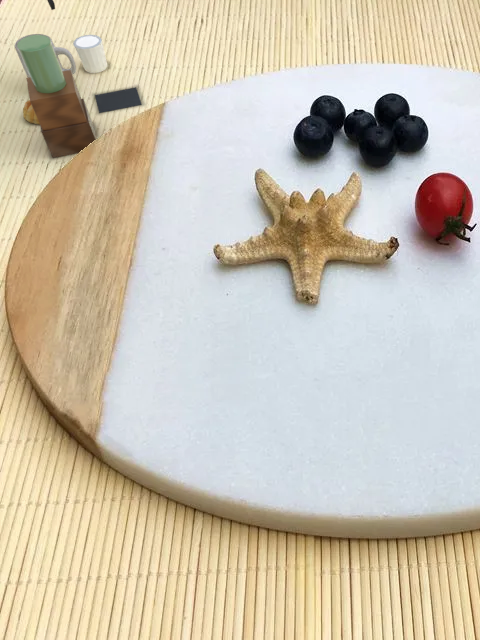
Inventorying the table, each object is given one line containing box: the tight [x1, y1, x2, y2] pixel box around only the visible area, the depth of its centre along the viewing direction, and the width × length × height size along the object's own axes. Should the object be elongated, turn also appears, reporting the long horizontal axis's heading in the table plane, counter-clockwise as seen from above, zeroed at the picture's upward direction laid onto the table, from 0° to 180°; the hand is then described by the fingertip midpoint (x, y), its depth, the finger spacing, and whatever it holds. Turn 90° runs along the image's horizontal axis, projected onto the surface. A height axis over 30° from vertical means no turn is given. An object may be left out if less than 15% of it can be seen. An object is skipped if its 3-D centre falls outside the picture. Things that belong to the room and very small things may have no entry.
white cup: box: [72, 34, 108, 74], centre depth 169 cm, size 7×7×7 cm
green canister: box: [17, 34, 66, 93], centre depth 138 cm, size 6×6×9 cm
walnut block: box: [25, 70, 97, 159], centre depth 148 cm, size 10×10×14 cm
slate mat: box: [94, 87, 143, 114], centre depth 163 cm, size 10×8×1 cm
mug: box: [14, 33, 77, 78], centre depth 162 cm, size 12×8×11 cm
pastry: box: [22, 99, 40, 125], centre depth 157 cm, size 9×7×4 cm
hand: (19, 15), depth 137 cm, fingers open, 13 cm apart
